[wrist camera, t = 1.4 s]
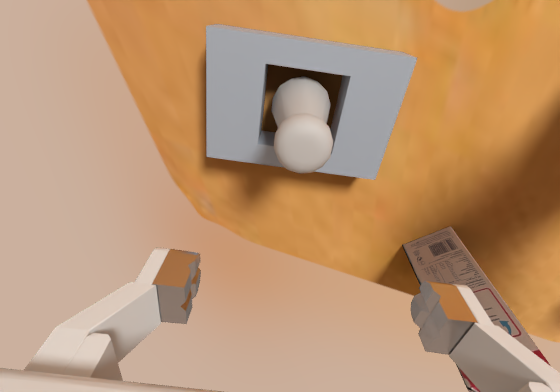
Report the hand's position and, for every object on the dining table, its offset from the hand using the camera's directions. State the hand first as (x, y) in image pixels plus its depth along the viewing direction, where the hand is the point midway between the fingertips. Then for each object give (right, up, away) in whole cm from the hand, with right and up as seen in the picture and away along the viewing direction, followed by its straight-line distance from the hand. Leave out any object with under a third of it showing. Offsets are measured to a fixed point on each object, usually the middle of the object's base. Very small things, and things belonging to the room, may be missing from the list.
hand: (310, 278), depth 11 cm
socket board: (+1, +13, +21) cm, 25 cm away
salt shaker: (+1, +13, +21) cm, 25 cm away
